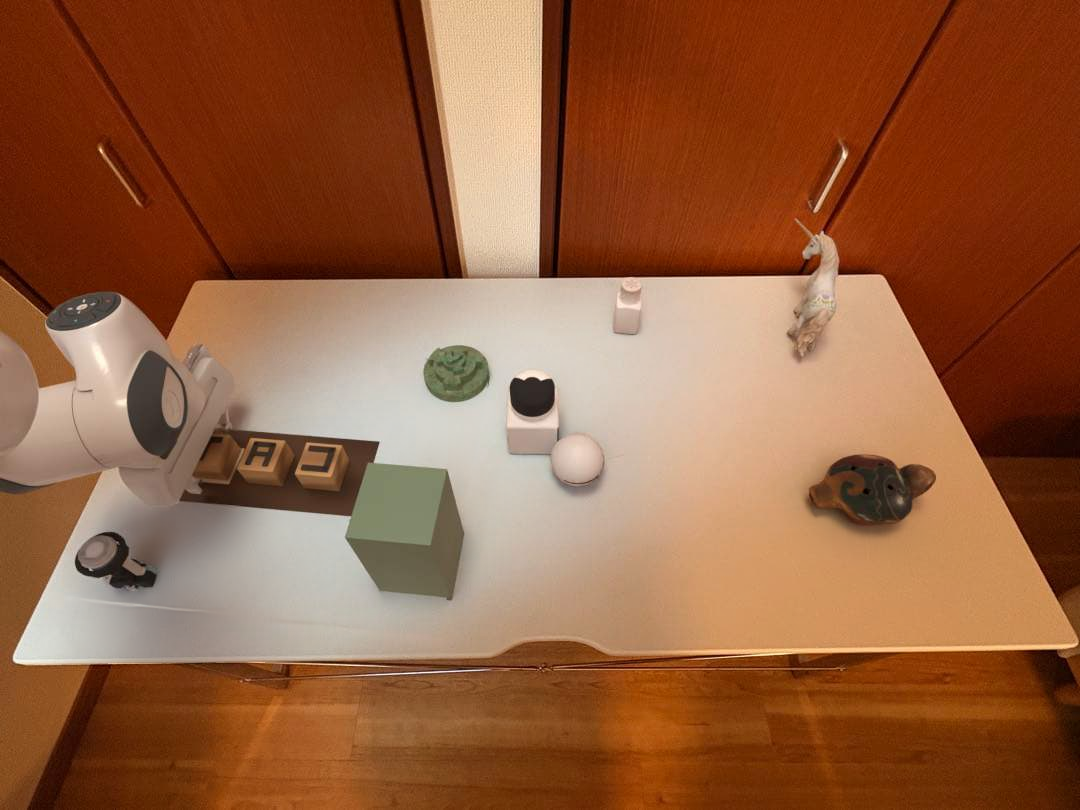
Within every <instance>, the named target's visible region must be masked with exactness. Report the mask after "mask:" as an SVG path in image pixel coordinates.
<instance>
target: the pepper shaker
mask: <svg viewBox="0 0 1080 810" xmlns="http://www.w3.org/2000/svg"><path fill="white" fill-rule="evenodd" d="M642 288H643V284H642V281H641V280H640V279H639V278H637V277H634V276H629V277H625V278H623V279H622V281H621V283H620V290H619V291H618V292H617V293H616V301H615V309H614V317H613V326H612V327H613V332H614V333H617V334H626V335H636V334H637V333H638V328H639V324H640V318H641V314H642V306H643V295H642Z"/></svg>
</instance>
